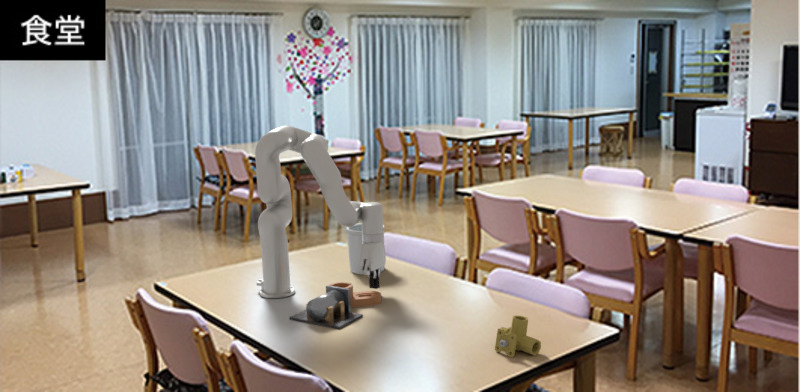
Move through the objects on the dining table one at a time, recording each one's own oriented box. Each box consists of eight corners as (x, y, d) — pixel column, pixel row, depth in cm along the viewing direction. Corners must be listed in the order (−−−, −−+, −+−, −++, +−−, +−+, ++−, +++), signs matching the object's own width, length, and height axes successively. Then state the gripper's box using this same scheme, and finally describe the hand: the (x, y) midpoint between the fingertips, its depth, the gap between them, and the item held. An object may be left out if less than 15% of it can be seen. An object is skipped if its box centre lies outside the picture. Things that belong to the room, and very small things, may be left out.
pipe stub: (289, 319, 259) (288, 294, 258) (316, 306, 271) (314, 283, 269) (339, 329, 249) (338, 303, 247) (364, 315, 260) (363, 291, 259)
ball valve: (506, 344, 234) (484, 349, 227) (511, 310, 233) (488, 314, 226) (540, 358, 225) (518, 363, 218) (545, 323, 224) (523, 327, 217)
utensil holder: (371, 277, 304) (370, 232, 301) (340, 272, 312) (338, 228, 309) (393, 267, 316) (391, 224, 313) (362, 263, 324) (361, 221, 321)
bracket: (331, 309, 268) (330, 290, 267) (327, 302, 276) (326, 283, 275) (383, 304, 272) (382, 285, 271) (378, 297, 280) (378, 278, 278)
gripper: (375, 232, 288) (377, 281, 291) (351, 241, 275) (353, 292, 279) (393, 234, 284) (394, 283, 287) (369, 243, 271) (371, 295, 275)
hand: (374, 287), depth 283 cm, fingers closed
